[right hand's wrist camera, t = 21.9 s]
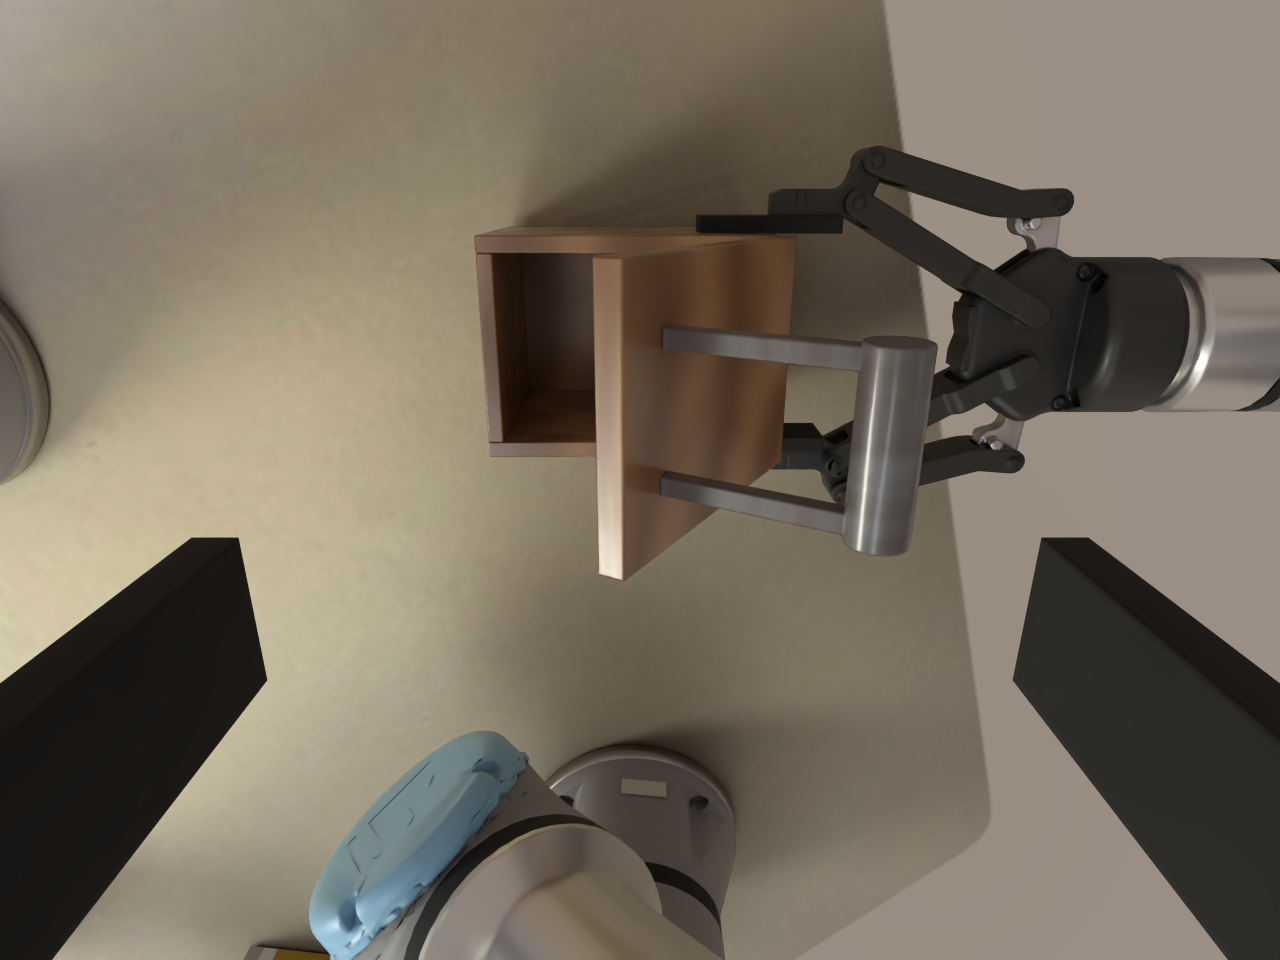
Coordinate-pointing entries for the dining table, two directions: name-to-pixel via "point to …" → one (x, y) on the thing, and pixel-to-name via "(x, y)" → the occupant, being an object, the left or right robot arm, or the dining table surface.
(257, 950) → the toy
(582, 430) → the wooden box
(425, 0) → the dining table surface
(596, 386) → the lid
